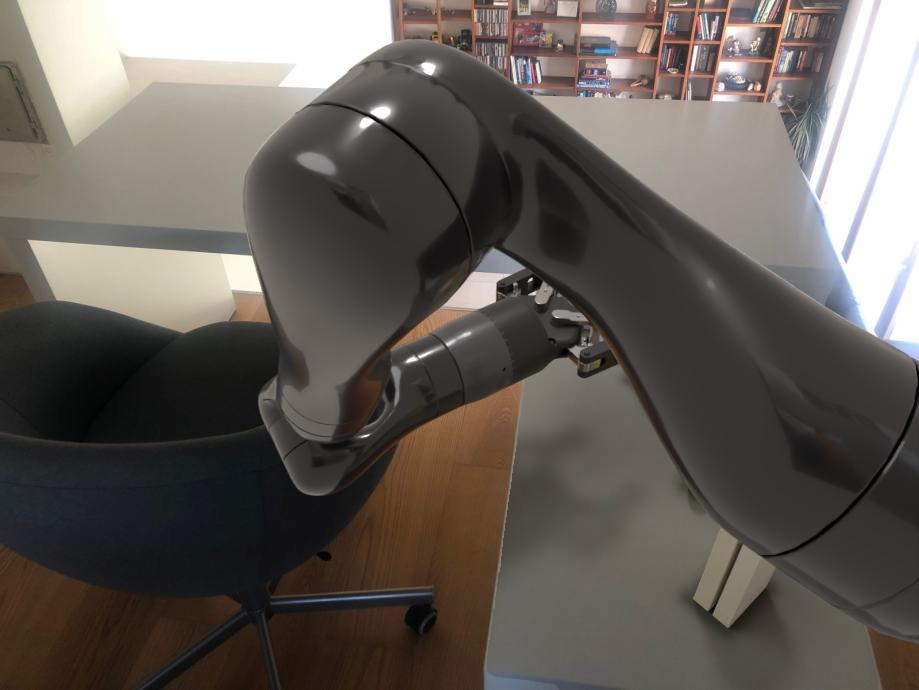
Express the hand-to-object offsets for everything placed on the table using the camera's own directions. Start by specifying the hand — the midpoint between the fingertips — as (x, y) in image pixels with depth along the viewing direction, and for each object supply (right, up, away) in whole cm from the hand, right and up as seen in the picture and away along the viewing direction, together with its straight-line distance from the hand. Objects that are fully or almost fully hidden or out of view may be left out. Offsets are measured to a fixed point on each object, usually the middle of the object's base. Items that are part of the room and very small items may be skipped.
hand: (618, 291), depth 69 cm
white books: (+8, -27, -7) cm, 30 cm away
